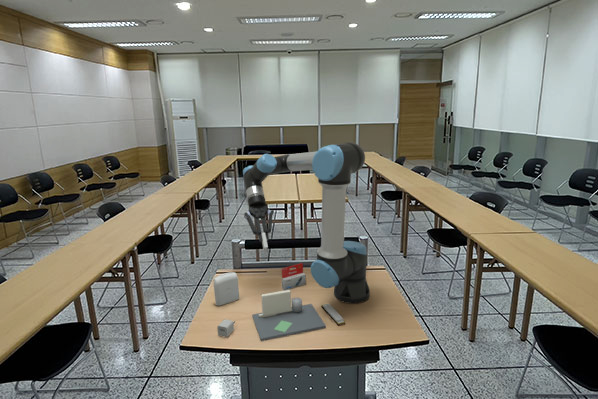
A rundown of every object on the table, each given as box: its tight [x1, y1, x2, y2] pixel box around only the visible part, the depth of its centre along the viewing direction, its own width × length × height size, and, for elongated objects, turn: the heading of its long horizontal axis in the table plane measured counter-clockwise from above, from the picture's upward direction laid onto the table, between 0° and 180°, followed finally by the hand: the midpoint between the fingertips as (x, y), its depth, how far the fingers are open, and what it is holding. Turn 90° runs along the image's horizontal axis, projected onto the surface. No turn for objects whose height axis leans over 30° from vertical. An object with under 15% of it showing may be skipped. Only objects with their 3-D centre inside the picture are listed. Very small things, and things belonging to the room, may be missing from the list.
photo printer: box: [212, 271, 240, 306], centre depth 154 cm, size 10×4×12 cm, turn 123°
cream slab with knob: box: [259, 289, 303, 317], centre depth 143 cm, size 17×4×8 cm, turn 107°
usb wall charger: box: [217, 318, 236, 338], centre depth 135 cm, size 4×7×4 cm, turn 160°
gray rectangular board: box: [251, 303, 327, 342], centre depth 140 cm, size 24×16×1 cm, turn 107°
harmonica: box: [320, 303, 346, 327], centre depth 144 cm, size 15×3×2 cm, turn 22°
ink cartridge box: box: [281, 262, 307, 291], centre depth 166 cm, size 2×11×10 cm, turn 121°
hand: (265, 248), depth 152 cm, fingers closed
